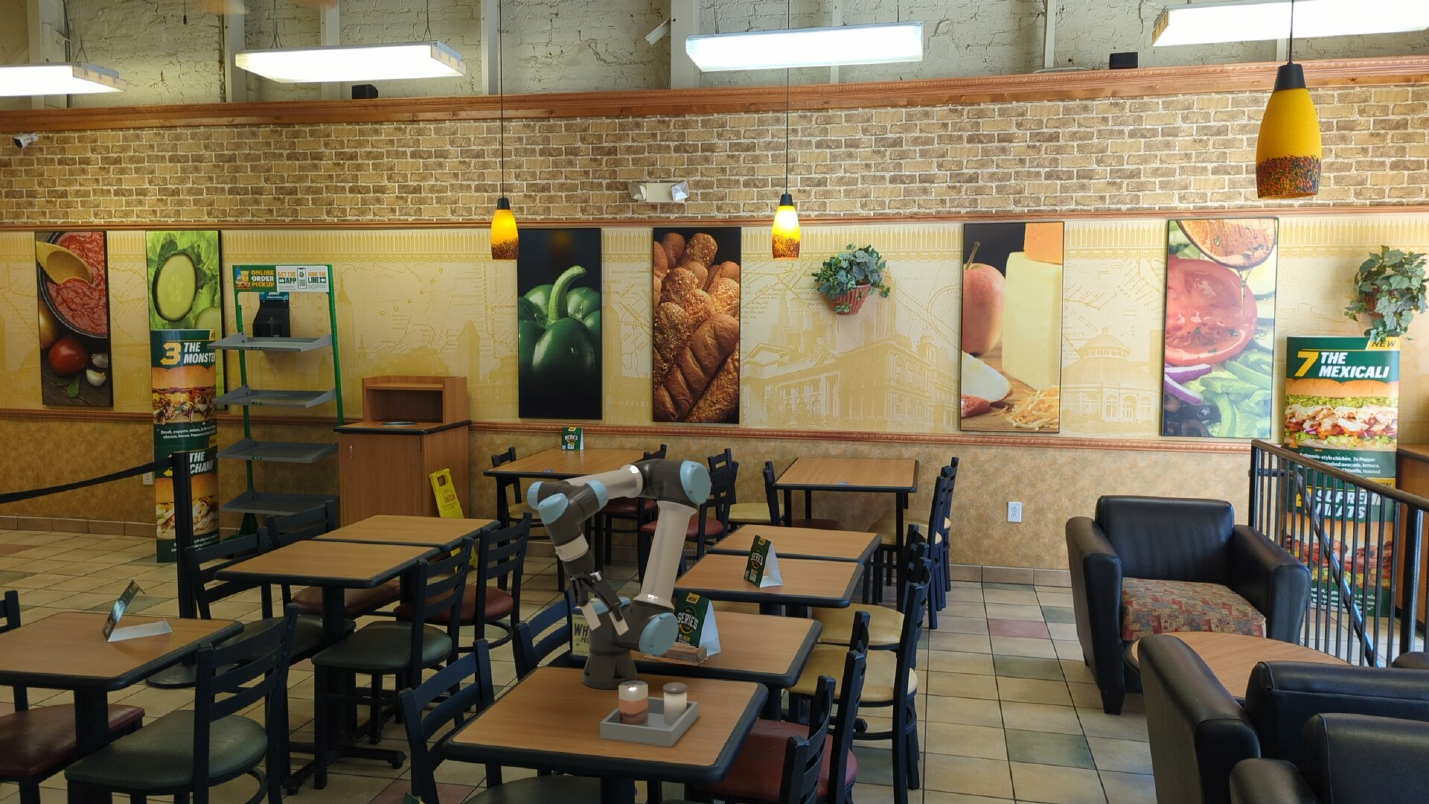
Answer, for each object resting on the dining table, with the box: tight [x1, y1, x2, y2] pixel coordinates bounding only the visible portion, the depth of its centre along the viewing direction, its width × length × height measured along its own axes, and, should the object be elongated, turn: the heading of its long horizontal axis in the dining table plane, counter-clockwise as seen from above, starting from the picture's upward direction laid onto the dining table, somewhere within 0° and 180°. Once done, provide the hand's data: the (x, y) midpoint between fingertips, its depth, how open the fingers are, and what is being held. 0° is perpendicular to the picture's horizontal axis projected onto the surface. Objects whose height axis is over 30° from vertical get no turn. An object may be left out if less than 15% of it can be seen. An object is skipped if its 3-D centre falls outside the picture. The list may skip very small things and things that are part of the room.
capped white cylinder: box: [663, 690, 688, 725], centre depth 245 cm, size 6×6×8 cm
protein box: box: [572, 596, 600, 662], centre depth 302 cm, size 10×16×16 cm
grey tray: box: [599, 696, 699, 748], centre depth 241 cm, size 18×20×4 cm
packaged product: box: [643, 641, 708, 664], centre depth 298 cm, size 18×5×10 cm
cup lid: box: [662, 682, 688, 694], centre depth 245 cm, size 6×6×1 cm
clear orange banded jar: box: [618, 680, 649, 727], centre depth 239 cm, size 7×7×11 cm
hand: (609, 629), depth 247 cm, fingers open, 13 cm apart
